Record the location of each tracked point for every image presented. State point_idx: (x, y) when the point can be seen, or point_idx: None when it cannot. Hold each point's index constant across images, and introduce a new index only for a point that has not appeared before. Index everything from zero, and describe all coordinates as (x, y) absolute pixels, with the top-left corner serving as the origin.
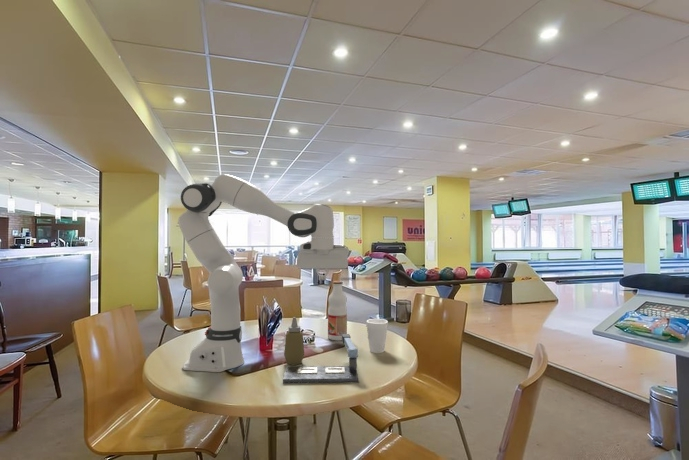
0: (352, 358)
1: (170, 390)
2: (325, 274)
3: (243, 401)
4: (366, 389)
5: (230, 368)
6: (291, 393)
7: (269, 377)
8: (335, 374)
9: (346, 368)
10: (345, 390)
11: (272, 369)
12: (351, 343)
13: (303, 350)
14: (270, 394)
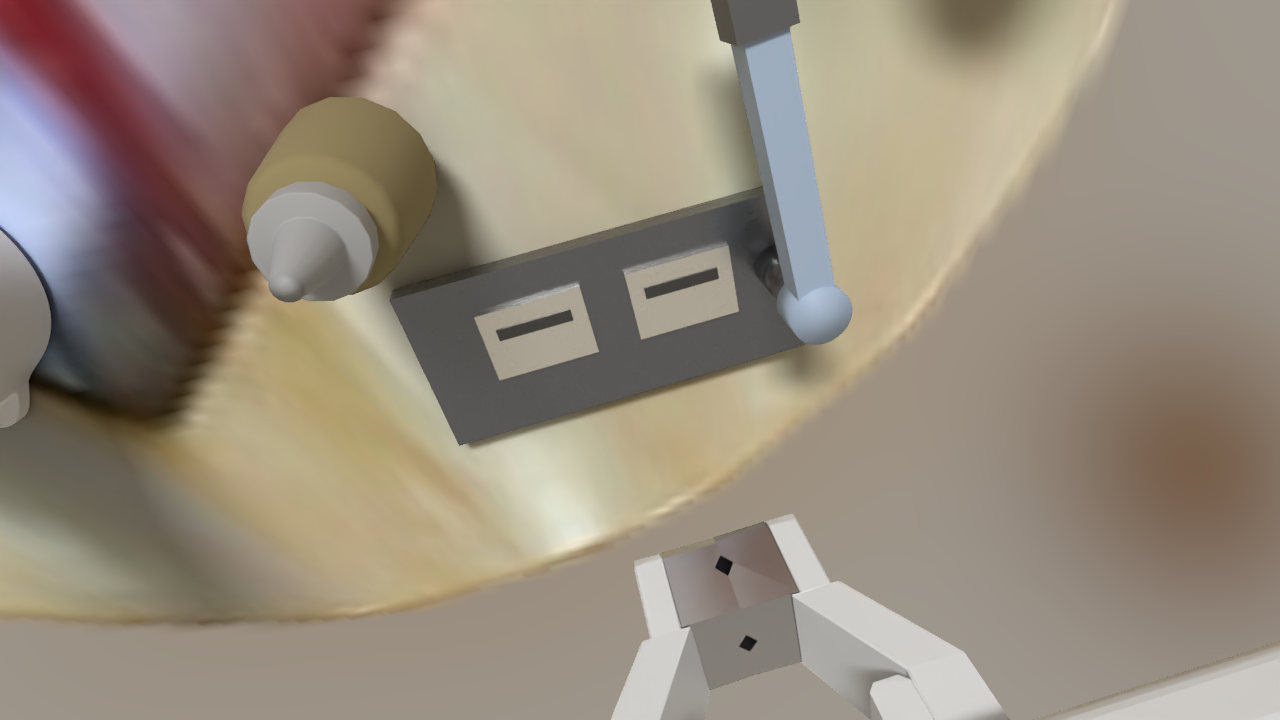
0: None
1: (14, 611)
2: (840, 687)
3: (394, 586)
4: (828, 385)
5: (37, 362)
6: (540, 493)
7: (354, 393)
8: (692, 333)
9: (738, 244)
10: (746, 415)
11: None
12: (809, 195)
13: (430, 182)
14: (462, 521)
